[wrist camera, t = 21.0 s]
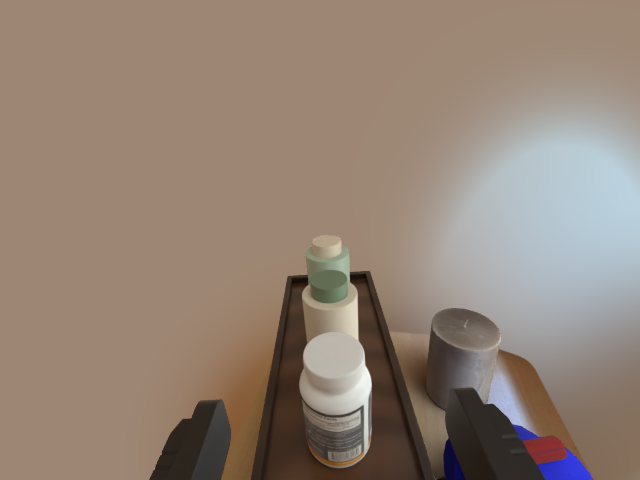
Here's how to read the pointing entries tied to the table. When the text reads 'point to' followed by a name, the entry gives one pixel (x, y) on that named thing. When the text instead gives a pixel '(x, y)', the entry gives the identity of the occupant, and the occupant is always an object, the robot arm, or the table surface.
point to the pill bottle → (336, 399)
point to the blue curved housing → (548, 453)
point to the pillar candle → (461, 354)
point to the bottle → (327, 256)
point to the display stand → (386, 411)
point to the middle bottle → (330, 305)
